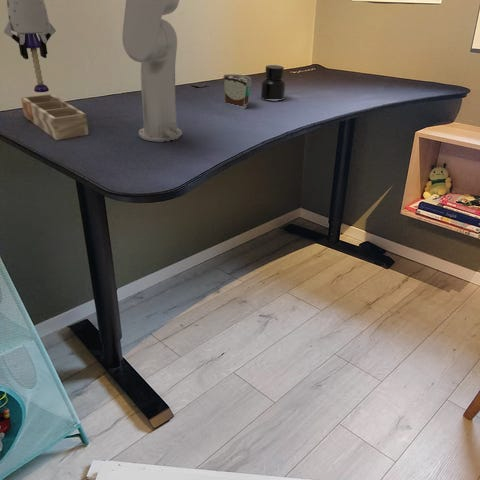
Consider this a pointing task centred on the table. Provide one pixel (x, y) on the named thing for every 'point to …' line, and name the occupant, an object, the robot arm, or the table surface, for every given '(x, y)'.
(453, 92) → the table surface
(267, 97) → the ink bottle
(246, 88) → the food container
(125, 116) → the table surface
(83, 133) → the rack
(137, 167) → the table surface
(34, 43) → the toy lamp
